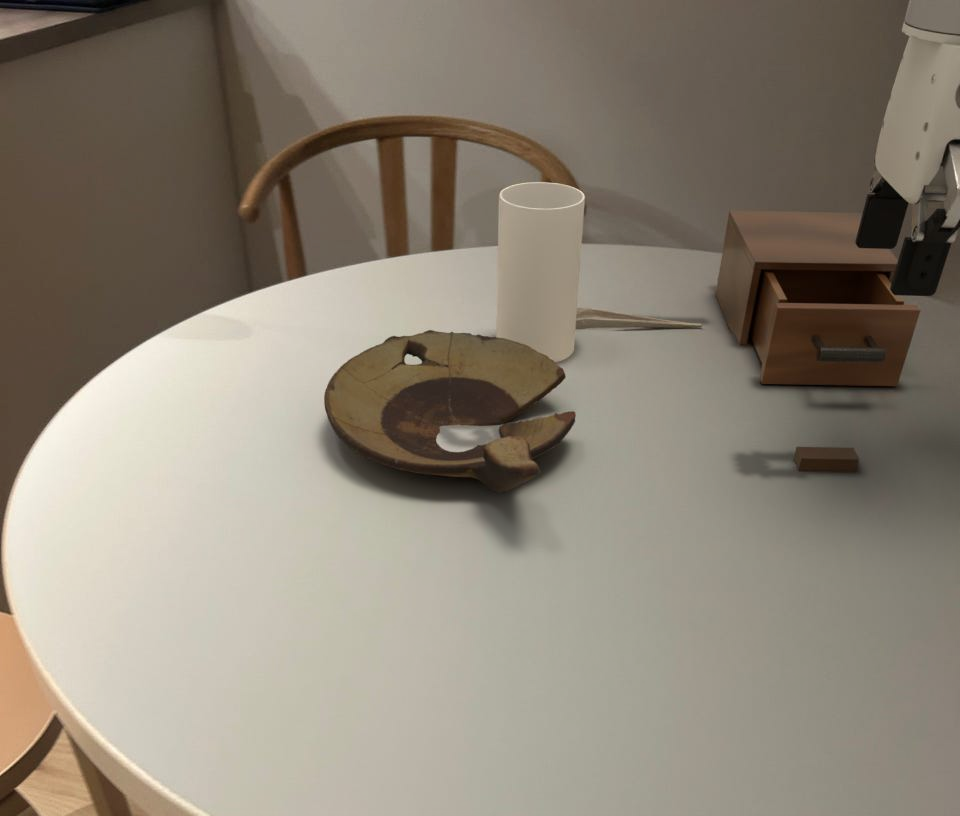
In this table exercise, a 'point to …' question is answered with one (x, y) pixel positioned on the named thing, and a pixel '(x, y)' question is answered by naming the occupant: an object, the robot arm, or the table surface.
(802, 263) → the cabinet
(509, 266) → the cup
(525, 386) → the broken ceramic dish
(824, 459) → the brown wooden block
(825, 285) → the drawer
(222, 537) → the table surface
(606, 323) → the tweezers
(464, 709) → the table surface
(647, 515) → the table surface
